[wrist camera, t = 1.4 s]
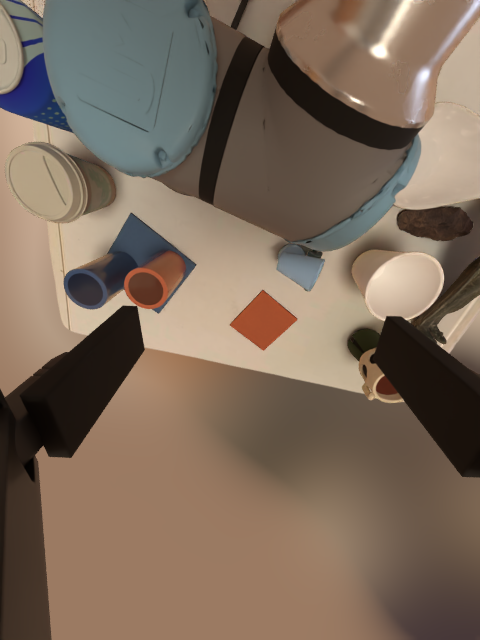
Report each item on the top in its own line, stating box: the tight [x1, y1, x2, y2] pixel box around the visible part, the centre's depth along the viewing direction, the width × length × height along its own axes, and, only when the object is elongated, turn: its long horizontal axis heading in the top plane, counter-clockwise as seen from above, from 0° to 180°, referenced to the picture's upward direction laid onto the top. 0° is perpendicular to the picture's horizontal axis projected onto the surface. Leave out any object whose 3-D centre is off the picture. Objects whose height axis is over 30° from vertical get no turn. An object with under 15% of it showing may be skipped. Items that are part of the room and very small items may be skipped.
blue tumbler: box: [64, 251, 138, 309], centre depth 39 cm, size 6×6×11 cm
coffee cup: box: [5, 142, 116, 223], centre depth 33 cm, size 9×8×12 cm
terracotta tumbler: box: [124, 250, 186, 309], centre depth 39 cm, size 6×6×11 cm
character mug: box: [348, 329, 404, 403], centre depth 44 cm, size 11×7×13 cm, turn 157°
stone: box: [398, 206, 473, 241], centre depth 38 cm, size 11×2×5 cm
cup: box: [352, 250, 444, 321], centre depth 38 cm, size 10×10×11 cm
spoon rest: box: [393, 102, 480, 210], centre depth 33 cm, size 24×12×7 cm, turn 80°
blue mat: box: [107, 213, 196, 314], centre depth 44 cm, size 13×13×1 cm
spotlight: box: [277, 244, 325, 291], centre depth 38 cm, size 5×10×7 cm
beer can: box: [0, 0, 74, 133], centre depth 27 cm, size 8×8×16 cm
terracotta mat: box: [230, 290, 297, 350], centre depth 48 cm, size 10×9×1 cm
